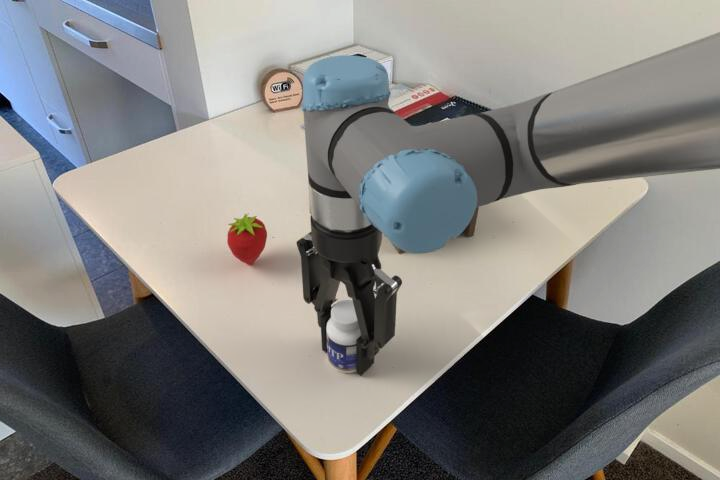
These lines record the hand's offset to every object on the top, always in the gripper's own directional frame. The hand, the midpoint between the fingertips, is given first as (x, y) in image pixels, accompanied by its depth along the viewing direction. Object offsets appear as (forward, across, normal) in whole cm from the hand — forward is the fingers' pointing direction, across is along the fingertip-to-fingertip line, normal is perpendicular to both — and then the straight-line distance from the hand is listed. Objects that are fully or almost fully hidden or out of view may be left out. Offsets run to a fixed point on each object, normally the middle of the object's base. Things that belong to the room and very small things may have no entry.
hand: (347, 356), depth 68 cm
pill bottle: (0, 0, 0) cm, 0 cm away
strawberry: (+1, +24, -4) cm, 24 cm away
